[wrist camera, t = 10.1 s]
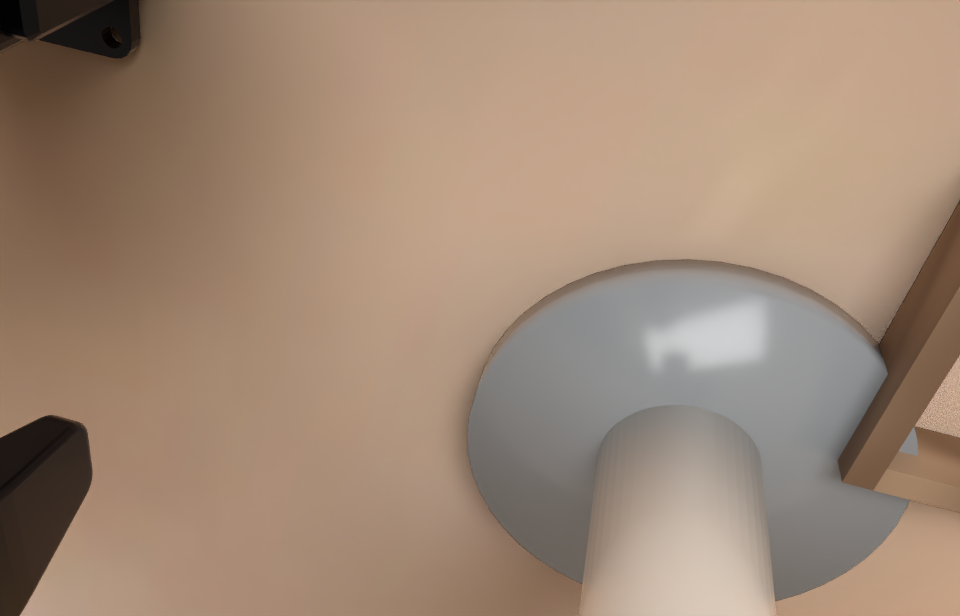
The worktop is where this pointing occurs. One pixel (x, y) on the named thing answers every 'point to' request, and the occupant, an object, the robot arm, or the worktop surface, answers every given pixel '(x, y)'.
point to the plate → (690, 382)
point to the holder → (914, 390)
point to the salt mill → (678, 520)
